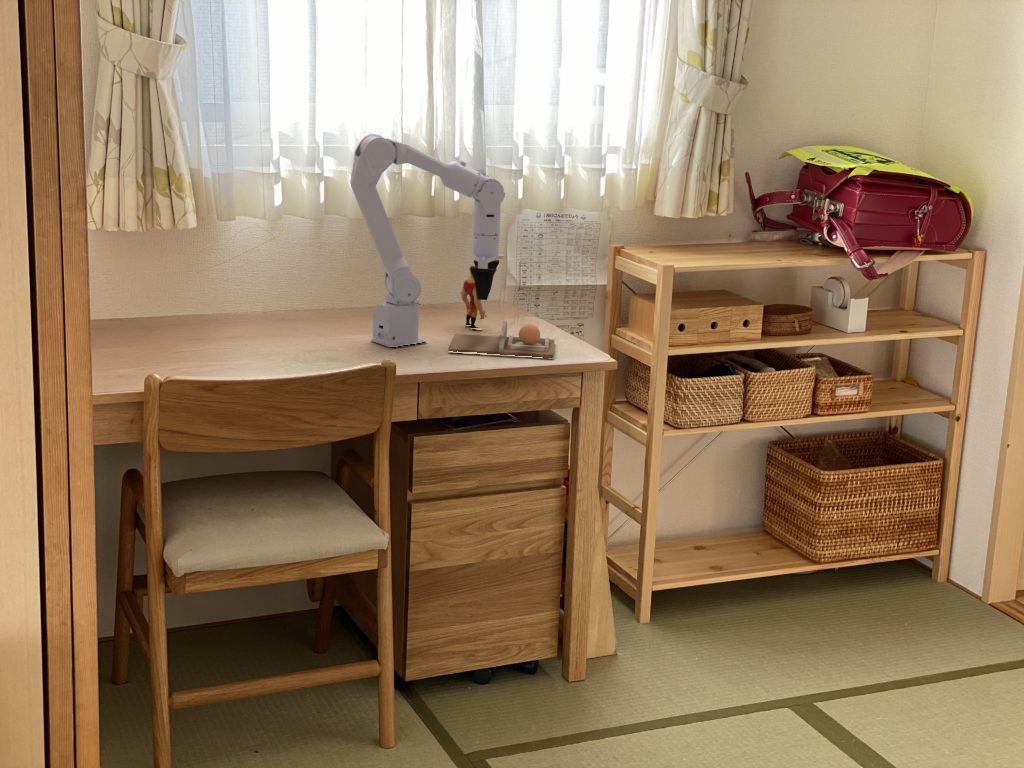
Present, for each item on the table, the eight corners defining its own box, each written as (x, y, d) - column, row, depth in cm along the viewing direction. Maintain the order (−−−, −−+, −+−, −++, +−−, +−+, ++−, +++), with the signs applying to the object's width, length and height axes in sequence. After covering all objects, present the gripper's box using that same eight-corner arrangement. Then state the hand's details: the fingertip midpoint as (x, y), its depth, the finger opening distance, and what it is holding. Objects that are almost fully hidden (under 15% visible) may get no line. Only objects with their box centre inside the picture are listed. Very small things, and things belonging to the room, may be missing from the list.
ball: (528, 349, 253) (529, 328, 252) (513, 343, 257) (515, 323, 255) (543, 346, 256) (545, 325, 255) (529, 341, 260) (530, 320, 258)
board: (448, 353, 251) (448, 332, 249) (454, 338, 264) (455, 318, 263) (553, 359, 250) (554, 338, 249) (554, 343, 263) (555, 323, 262)
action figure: (488, 332, 271) (491, 267, 267) (474, 333, 269) (476, 267, 265) (472, 323, 279) (474, 259, 275) (458, 324, 278) (460, 260, 274)
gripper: (502, 239, 250) (500, 303, 254) (506, 230, 264) (504, 290, 268) (469, 238, 250) (466, 301, 254) (474, 228, 264) (472, 289, 268)
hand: (483, 296), depth 261 cm, fingers open, 7 cm apart
